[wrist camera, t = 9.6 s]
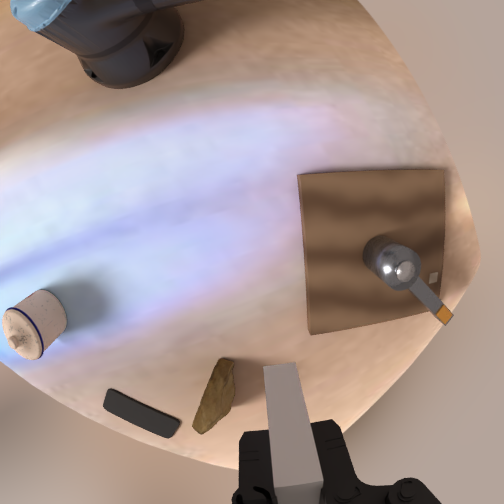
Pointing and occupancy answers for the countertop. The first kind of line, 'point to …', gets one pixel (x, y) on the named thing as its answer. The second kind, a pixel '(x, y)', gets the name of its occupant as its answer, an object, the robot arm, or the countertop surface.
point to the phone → (140, 414)
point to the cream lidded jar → (34, 324)
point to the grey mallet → (402, 272)
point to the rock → (216, 397)
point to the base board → (359, 233)
